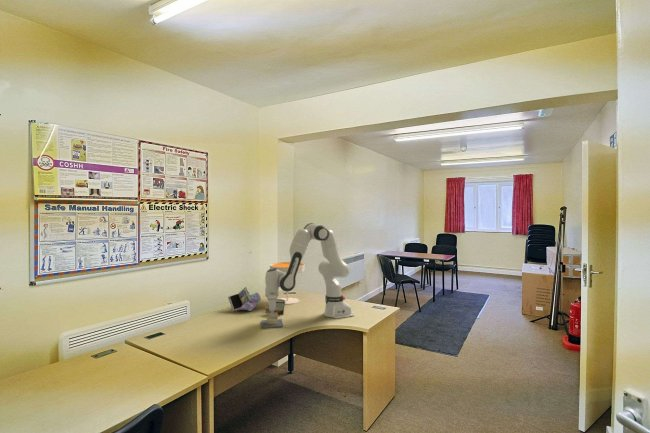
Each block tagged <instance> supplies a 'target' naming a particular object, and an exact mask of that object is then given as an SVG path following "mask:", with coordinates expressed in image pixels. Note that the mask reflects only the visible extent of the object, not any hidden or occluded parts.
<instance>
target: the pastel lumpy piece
mask: <svg viewBox="0 0 650 433" xmlns="http://www.w3.org/2000/svg"><path fill="white" fill-rule="evenodd" d="M227 298H228V299H227V300H228V302H229V303H230V307H231V309H232V312H235V311H249V312H251V311H253V310H254V309H255V308H256V307H257V304H259V303H260V302H261V300H262V299H261V295H260V293H259V292H254V293H253V294H250V292H249V290H248V289H247V287H246V286H245V287H244V288H242V289H241V290H240V291H239V292H238V293H237V294H236V293H235V294H234V295H230V296H228V297H227Z"/></svg>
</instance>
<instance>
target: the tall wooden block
mask: <svg viewBox="0 0 650 433" xmlns="http://www.w3.org/2000/svg"><path fill="white" fill-rule="evenodd" d="M278 313H279V308H275V311H274V316H271V311H270V310H269V308H265V314H266V320H267V324H278V316H279V315H278Z"/></svg>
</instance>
